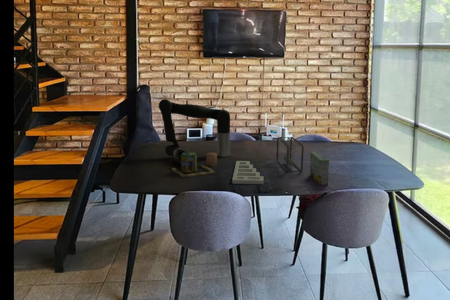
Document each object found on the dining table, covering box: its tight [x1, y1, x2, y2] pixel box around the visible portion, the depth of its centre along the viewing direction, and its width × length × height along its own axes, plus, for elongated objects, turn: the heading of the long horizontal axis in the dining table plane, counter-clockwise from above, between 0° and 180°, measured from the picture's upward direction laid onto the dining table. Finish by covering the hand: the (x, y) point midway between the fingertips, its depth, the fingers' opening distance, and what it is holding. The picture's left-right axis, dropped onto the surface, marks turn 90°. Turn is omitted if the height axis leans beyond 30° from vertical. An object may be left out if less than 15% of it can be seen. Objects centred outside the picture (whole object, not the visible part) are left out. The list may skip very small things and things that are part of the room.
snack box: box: [309, 151, 330, 186], centre depth 263 cm, size 21×6×15 cm, turn 5°
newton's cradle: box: [276, 136, 305, 173], centre depth 292 cm, size 30×10×18 cm, turn 6°
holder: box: [231, 160, 265, 185], centre depth 278 cm, size 45×18×3 cm, turn 175°
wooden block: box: [205, 152, 218, 168], centre depth 296 cm, size 7×7×8 cm
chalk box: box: [180, 147, 198, 174], centre depth 280 cm, size 9×9×15 cm
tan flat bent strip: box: [171, 164, 217, 179], centre depth 281 cm, size 22×20×1 cm
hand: (189, 160), depth 285 cm, fingers closed
